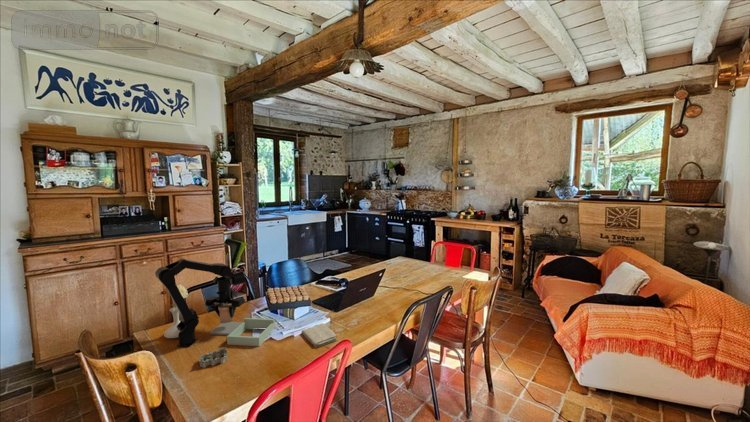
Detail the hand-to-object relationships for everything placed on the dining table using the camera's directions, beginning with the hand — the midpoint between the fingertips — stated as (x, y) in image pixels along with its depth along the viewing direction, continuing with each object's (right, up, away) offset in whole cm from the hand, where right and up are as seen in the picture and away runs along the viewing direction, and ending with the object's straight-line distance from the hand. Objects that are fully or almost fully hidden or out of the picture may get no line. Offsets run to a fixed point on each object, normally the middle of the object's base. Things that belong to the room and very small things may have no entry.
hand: (226, 317), depth 163 cm
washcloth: (+50, -7, -9) cm, 51 cm away
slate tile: (0, -6, +1) cm, 6 cm away
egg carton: (+8, -10, -28) cm, 30 cm away
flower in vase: (-23, -8, -3) cm, 24 cm away
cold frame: (+16, -7, -7) cm, 19 cm away
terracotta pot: (0, -2, 0) cm, 2 cm away
